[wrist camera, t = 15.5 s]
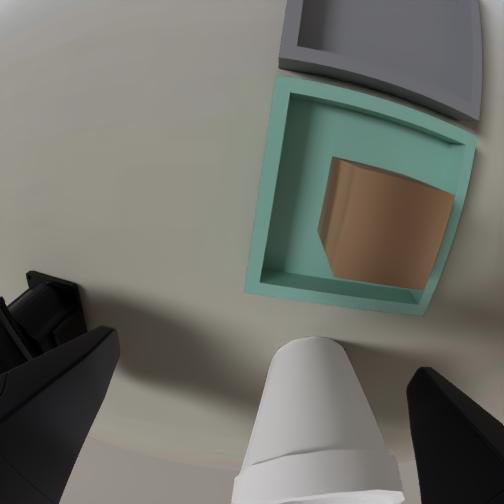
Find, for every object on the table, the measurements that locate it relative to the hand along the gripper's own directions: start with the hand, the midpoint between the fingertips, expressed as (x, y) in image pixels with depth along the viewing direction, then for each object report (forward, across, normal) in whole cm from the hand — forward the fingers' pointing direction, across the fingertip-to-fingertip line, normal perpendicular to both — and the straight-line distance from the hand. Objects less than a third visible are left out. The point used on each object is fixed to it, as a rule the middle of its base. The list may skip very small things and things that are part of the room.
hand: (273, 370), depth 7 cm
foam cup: (+12, -5, +10) cm, 17 cm away
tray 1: (+11, -5, -16) cm, 20 cm away
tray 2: (+11, -5, -3) cm, 13 cm away
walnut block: (+11, -5, -3) cm, 12 cm away
